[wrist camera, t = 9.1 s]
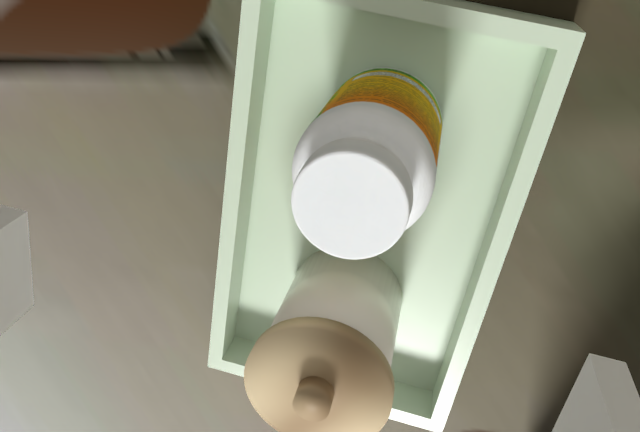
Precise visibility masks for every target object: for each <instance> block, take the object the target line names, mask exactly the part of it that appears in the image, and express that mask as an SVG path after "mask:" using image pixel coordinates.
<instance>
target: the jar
mask: <svg viewBox="0 0 640 432" xmlns="http://www.w3.org/2000/svg"><path fill="white" fill-rule="evenodd" d="M401 306H402V290H401V286H400V283H399V281H398V279H397V277H396V275H395V273H394V272H393V271H392V269H391V268H390V267H389V266H388V265H387V264H386V263H385V262H384V261H383V260H381V259H380V258H379V257H377V256H374V257H371V258H366V259H358V260H352V259H343V258H339V257H335V256H332V255H330V254H327V253H325V252H323V251H322V250H319V251H317V252H315V253H314V254H312V255H310V256H309V257H308V258H307V259H306V260H305V261H304V262H303V263H302V264H301V266H300V268H299V269H298V271H297V273H296V275H295V277H294V279H293V282H292V284H291V286H290V288H289V290H288V292H287V294H286V296H285V298H284V300H283V302H282V304H281V306H280V308H279V310H278V312H277V314H276V316H275V318H274V320H273V322H272V325H271V326H273V325H275V324H277V323H279V322H281V321H284V320H287V319H291V318H297V317H321V318H327V319H331V320H335V321H338V322H341V323H343V324H346V325H348V326H350V327H352V328H354V329H356V330H358V331H359V332H361V333H362V334H364V335H365V336H367V337H368V338H369V339H370V340H371V341H372V342H374V344H375V345H376V346H377V347H378V348H379V349H380V350H381V351H382V353H383V354H384V356H385V357H386V359H387V361H388V363H389V364H390V367H391V364H392V358H393V353H394V347H395V341H396V335H397V329H398V323H399V317H400V312H401Z"/></svg>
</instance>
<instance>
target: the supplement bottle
mask: <svg viewBox="0 0 640 432" xmlns="http://www.w3.org/2000/svg"><path fill="white" fill-rule="evenodd" d="M441 137H442V115H441V111H440V107H439V104H438V102H437V100H436V98H435V96H434V94H433V93H432V91H431V90H430V89H429V87H428V86H427V85H426V84H425V83H424V82H423V81H422V80H420V79H419V78H418V77H416V76H414V75H413V74H411V73H409V72H406V71H404V70H401V69H397V68H391V67H377V68H371V69H367V70H364V71H362V72H359V73H357V74H355V75H354V76H352V77H350V78H349V79H348V80H347V81H345V82H344V83H343V84H342V85H341V86H340V87H339V89H338V90H337V91H336V92H335V93H334V95H333V96H332V97H331V99H330V100H329V101H328V103H327V104H326V105H325V107H324V108H323V109H322V110H321V112H320V113H319V114H318V115H317V117H316V118H315V119H314V120H313V121H312V122H311V124H310V125H309V126H308V128H307V129H306V130H305V132H304V133H303V135H302V136H301V138H300V140H299V142H298V144H297V147H296V149H295V153H294V156H293V162H292V179H293V188H292V194H291V207H292V213H293V216H294V219H295V221H296V224H297V226H298V228H299V229H300V231H301V232H302V234H303V235H304V236H305V237H306V238H307V239H308V240H309V241H310V242H311V243H312V244H313V245H314V246H316V247H317V248H319V249H320V250H322V251H323V252H325V253H327V254H330V255H332V256H335V257H339V258H343V259H352V260H358V259H366V258H371V257H374V256H376V255H379V254H381V253H383V252H385V251H386V250H388V249H389V248H391V247H392V246H393V245H394V244H395V243H396V242H397V241H398V240H399V239H400V237H401V236H402V234H403V232H404V231H405V230H406V229H408V228H409V227H410V226H412V225H413V224H414V223H415V222H416V221H417V220H418V219H419V218H420V216H421V215H422V214H423V213H424V211H425V210H426V208H427V206H428V204H429V202H430V199H431V197H432V194H433V191H434V187H435V182H436V174H437V166H438V158H439V152H440V145H441Z"/></svg>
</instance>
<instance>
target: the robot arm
mask: <svg viewBox="0 0 640 432" xmlns="http://www.w3.org/2000/svg"><path fill="white" fill-rule="evenodd" d="M33 306H34V292H33V279H32V265H31V252H30V238H29V225H28V211H24V210H20V209H16V208H12V207H8V206H4V205H0V336H1V335H2V334H3V333H4V332H5V331H6V330H7V329H8V328H10V327H11V326H12V325H13V324H14V323H15V322H16V321H17V320H18V319H20V318H21V317H22V316H23V315H24V314H25V313H26V312H27V311H28V310H30V309H31V308H32V307H33ZM552 432H640V397H639V394H638V392H637V389H636V387H635V384H634V382H633V379H632V377H631V374H630V372H629V369H628V367H627V364H626V362H623V361H619V360H615V359H611V358H607V357H603V356H599V355H595V354H591V353H589V355H588V357H587V359H586V361H585V363H584V365H583V367H582V369H581V371H580V373H579V376H578V378H577V380H576V382H575V384H574V386H573V388H572V390H571V392H570V394H569V396H568V399H567V401H566V403H565V405H564V407H563V409H562V411H561V413H560V415H559V417H558V420H557V422H556V424H555V426H554V428H553V430H552Z"/></svg>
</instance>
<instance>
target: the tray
mask: <svg viewBox="0 0 640 432" xmlns="http://www.w3.org/2000/svg"><path fill="white" fill-rule="evenodd" d="M585 35H586V32H584V31H583V30H582V29H581V28H580V27H579V26H578V25H577V24H576V23H574V22H572V21H567V20H562V19H556V18H551V17H546V16H541V15H536V14H531V13H526V12H521V11H516V10H511V9H506V8H501V7H496V6H491V5H486V4H480V3H475V2H470V1H465V0H242V7H241V18H240V29H239V39H238V50H237V60H236V71H235V82H234V92H233V103H232V113H231V124H230V135H229V145H228V156H227V166H226V177H225V188H224V198H223V209H222V219H221V230H220V241H219V251H218V262H217V272H216V283H215V294H214V304H213V315H212V325H211V336H210V347H209V357H208V367H211V368H214V369H218V370H221V371H225V372H228V373H232V374H235V375H238V376H242V377H244V368H245V364H246V361H247V358H248V356H249V354H250V352H251V350H252V348H253V346H254V345H255V343H256V341H257V339H258V338H259V337H260V336H261V334H263V333H264V332H265V331H266V330H267V329H268V328H270V327H271V325H272V322H273V320H274V318H275V316H276V314H277V312H278V310H279V308H280V306H281V304H282V302H283V300H284V298H285V296H286V294H287V292H288V290H289V288H290V286H291V284H292V282H293V279H294V277H295V275H296V273H297V271H298V269H299V268H300V266H301V264H302V263H303V262H304V261H305V260H306V259H307V258H308V257H309V256H310V255H312V254H314V253H315V252H317V251H319V250H320V249H319V248H317V247H316V246H314V245H313V244H312V243H311V242H310V241H309V240H308V239H307V238H306V237H305V236H304V235H303V234H302V232H301V231H300V229H299V228H298V226H297V224H296V221H295V219H294V216H293V213H292V207H291V194H292V188H293V179H292V162H293V156H294V153H295V149H296V147H297V144H298V142H299V140H300V138H301V136H302V135H303V133H304V132H305V130H306V129H307V128H308V126H309V125H310V124H311V122H312V121H313V120H314V119H315V118H316V117H317V115H318V114H319V113H320V112H321V110H322V109H323V108H324V107H325V105H326V104H327V103H328V101H329V100H330V99H331V97H332V96H333V95H334V93H335V92H336V91H337V90H338V89H339V87H340V86H341V85H342V84H343V83H344V82H345V81H347V80H348V79H349V78H350V77H352V76H354V75H355V74H357V73H359V72H362V71H364V70H367V69H371V68H377V67H391V68H397V69H401V70H404V71H406V72H409V73H411V74H413V75H414V76H416V77H418V78H419V79H420V80H422V81H423V82H424V83H425V84H426V85H427V86H428V87H429V89H430V90H431V91H432V93H433V94H434V96H435V98H436V100H437V102H438V104H439V107H440V111H441V115H442V137H441V145H440V152H439V158H438V166H437V174H436V182H435V187H434V191H433V194H432V197H431V199H430V202H429V204H428V206H427V208H426V210H425V211H424V213H423V214H422V215H421V216H420V218H419V219H418V220H417V221H416V222H415V223H414V224H413V225H412V226H410V227H409V228H408V229H406V230H405V231H404V232H403V234H402V236H401V237H400V239H399V240H398V241H397V242H396V243H395V244H394V245H393V246H392V247H391V248H389V249H388V250H386V251H385V252H383V253H381V254H379V255H376V256H377V257H379V258H380V259H381V260H383V261H384V262H385V263H386V264H387V265H388V266H389V267H390V268H391V269H392V271H393V272H394V273H395V275H396V277H397V279H398V281H399V283H400V286H401V290H402V306H401V312H400V317H399V323H398V329H397V335H396V341H395V347H394V353H393V358H392V364H391V370H392V372H393V377H394V385H395V390H394V397H393V403H392V410H391V413H390V416H389V418H388V419H392V420H395V421H399V422H402V423H406V424H409V425H413V426H416V427H420V428H423V429H427V430H430V431H434V432H442V431H443V429H444V426H445V423H446V420H447V418H448V415H449V412H450V409H451V406H452V404H453V401H454V398H455V395H456V393H457V390H458V387H459V384H460V382H461V379H462V376H463V373H464V370H465V368H466V365H467V362H468V359H469V357H470V354H471V351H472V348H473V346H474V343H475V340H476V337H477V334H478V332H479V329H480V326H481V323H482V321H483V318H484V315H485V312H486V310H487V307H488V304H489V301H490V298H491V296H492V293H493V290H494V287H495V285H496V282H497V279H498V276H499V274H500V271H501V268H502V265H503V262H504V260H505V257H506V254H507V251H508V249H509V246H510V243H511V240H512V238H513V235H514V232H515V229H516V226H517V224H518V221H519V218H520V215H521V213H522V210H523V207H524V204H525V202H526V199H527V196H528V193H529V190H530V188H531V185H532V182H533V179H534V177H535V174H536V171H537V168H538V166H539V163H540V160H541V157H542V154H543V152H544V149H545V146H546V143H547V141H548V138H549V135H550V132H551V130H552V127H553V124H554V121H555V118H556V116H557V113H558V110H559V107H560V105H561V102H562V99H563V96H564V94H565V91H566V88H567V85H568V82H569V80H570V77H571V74H572V71H573V69H574V66H575V63H576V60H577V58H578V55H579V52H580V49H581V46H582V44H583V41H584V38H585Z"/></svg>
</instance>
